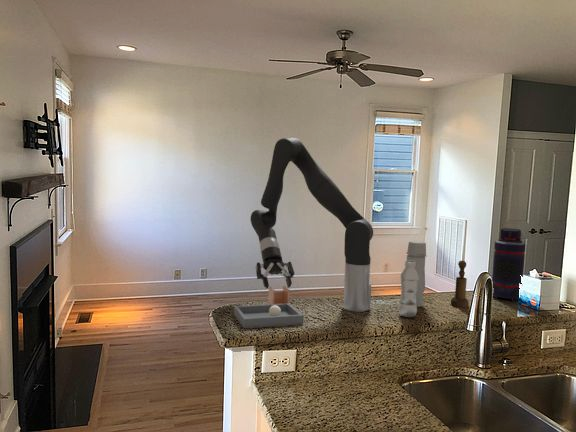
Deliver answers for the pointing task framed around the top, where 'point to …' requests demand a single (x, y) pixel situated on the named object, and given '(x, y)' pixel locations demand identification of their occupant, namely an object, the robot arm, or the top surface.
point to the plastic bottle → (408, 290)
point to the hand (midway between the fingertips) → (278, 286)
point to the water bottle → (418, 266)
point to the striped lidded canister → (508, 264)
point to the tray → (267, 316)
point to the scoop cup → (278, 296)
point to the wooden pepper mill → (460, 288)
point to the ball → (274, 310)
